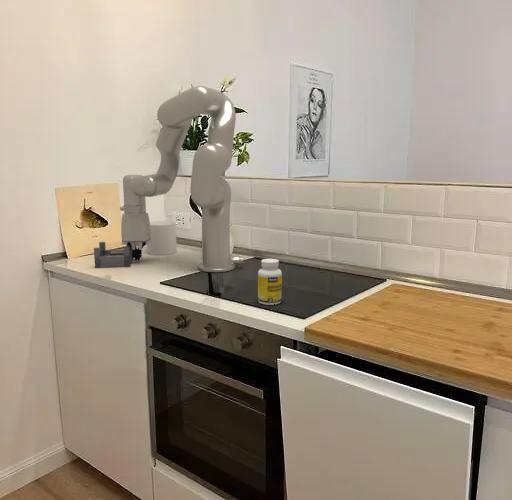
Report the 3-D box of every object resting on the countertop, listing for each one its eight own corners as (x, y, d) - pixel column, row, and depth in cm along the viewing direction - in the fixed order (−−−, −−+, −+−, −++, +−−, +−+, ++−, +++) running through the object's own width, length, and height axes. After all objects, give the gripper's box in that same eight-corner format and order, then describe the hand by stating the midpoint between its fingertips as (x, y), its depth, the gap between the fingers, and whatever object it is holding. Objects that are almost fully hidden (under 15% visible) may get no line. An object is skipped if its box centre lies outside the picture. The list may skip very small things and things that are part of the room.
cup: (152, 256, 196) (150, 225, 193) (143, 251, 206) (142, 222, 203) (180, 253, 201) (179, 223, 199) (171, 248, 211) (169, 219, 209)
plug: (132, 262, 187) (131, 250, 186) (130, 265, 182) (129, 252, 181) (107, 262, 186) (106, 250, 185) (104, 265, 181) (104, 253, 180)
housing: (133, 259, 191) (132, 241, 189) (130, 266, 179) (129, 247, 177) (100, 260, 189) (99, 241, 188) (95, 268, 177) (93, 248, 176)
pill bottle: (261, 306, 134) (261, 263, 132) (255, 299, 140) (255, 258, 138) (284, 304, 136) (285, 262, 133) (277, 297, 142) (277, 257, 139)
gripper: (112, 211, 176) (115, 262, 180) (155, 210, 178) (157, 261, 182) (115, 208, 184) (118, 258, 187) (157, 208, 186) (159, 257, 189)
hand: (137, 259), depth 185 cm, fingers closed
